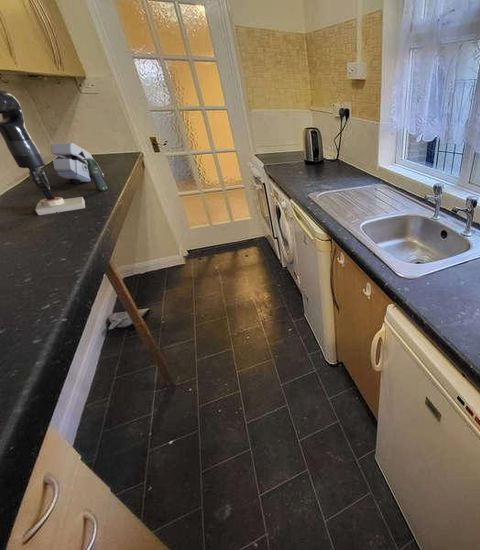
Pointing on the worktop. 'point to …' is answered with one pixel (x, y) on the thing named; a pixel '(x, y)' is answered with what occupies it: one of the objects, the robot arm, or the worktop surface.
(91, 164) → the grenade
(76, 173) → the robotic device
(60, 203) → the button base
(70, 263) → the worktop surface
